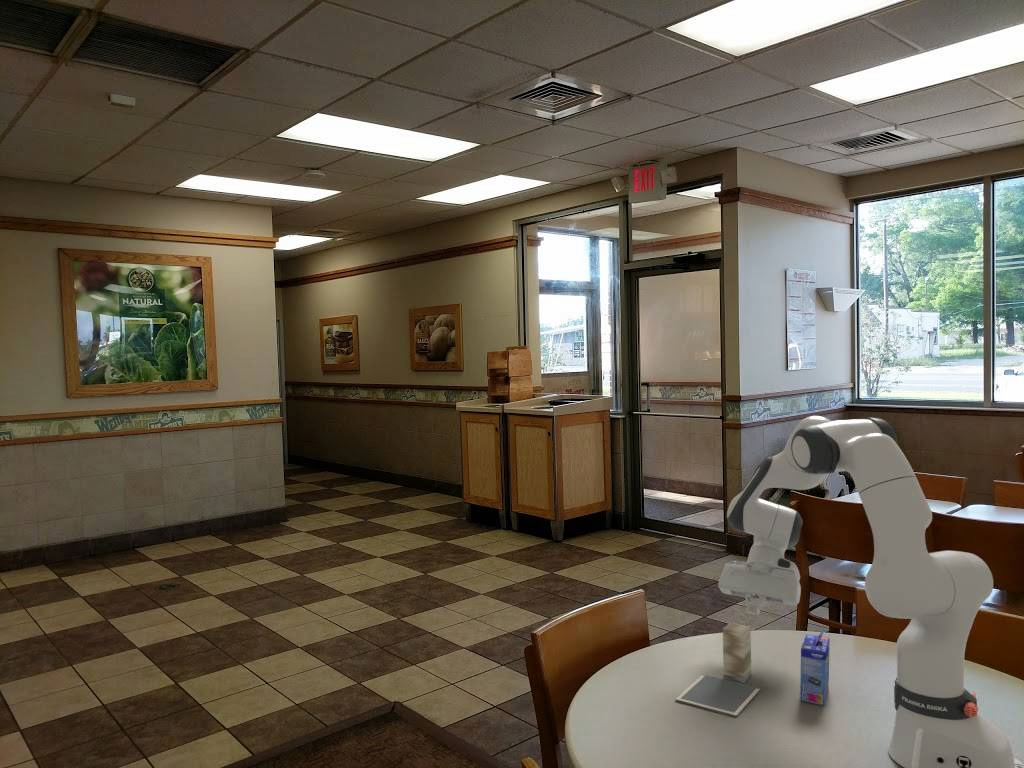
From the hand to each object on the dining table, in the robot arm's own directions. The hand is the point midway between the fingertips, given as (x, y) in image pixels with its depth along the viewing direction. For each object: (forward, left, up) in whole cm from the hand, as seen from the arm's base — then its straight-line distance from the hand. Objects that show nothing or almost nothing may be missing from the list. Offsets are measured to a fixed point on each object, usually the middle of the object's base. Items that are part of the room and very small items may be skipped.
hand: (752, 613), depth 188 cm
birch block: (0, +11, -12) cm, 17 cm away
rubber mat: (0, +23, -12) cm, 26 cm away
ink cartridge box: (-18, +11, -13) cm, 24 cm away
